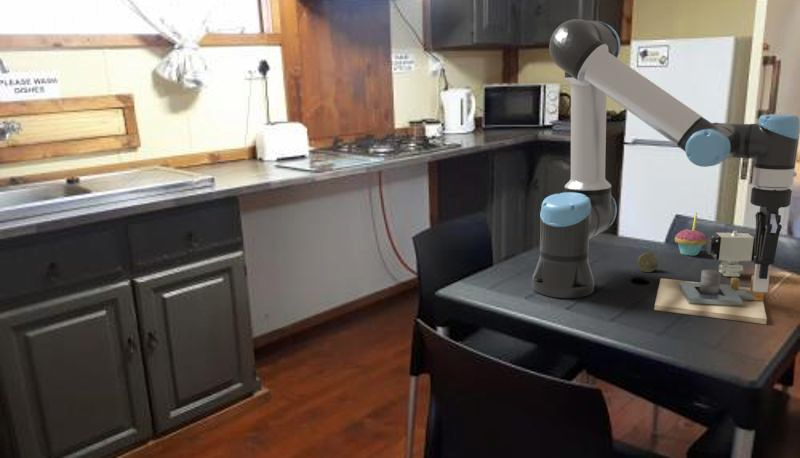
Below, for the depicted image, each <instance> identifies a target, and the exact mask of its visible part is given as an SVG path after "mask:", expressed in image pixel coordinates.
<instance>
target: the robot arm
mask: <svg viewBox="0 0 800 458" xmlns="http://www.w3.org/2000/svg"><path fill="white" fill-rule="evenodd" d="M548 48H549V54H550V57H551V59H552V61H553V63H554V64H555V65H556V66H558V68H559V69H561V70H562V71H564V79H565V81H566V82H567V83H568V84H569V85H570V179H569V181H568V182H567V183H566V184H565V185H564V192H560V193H553V194H550V195H549V196H547V197H545V198H544V199H543V201H542V202H541V208H540V213H539V215H540V216H539V217H540V227H539V228H540V229H539V231H540V235H539V236H540V237H539V238H540V240H539V259H538V262H537V264H536V267H535V269H534V273H533V275H532V278H531V288H532V290H533V291H534V292H536V293H538V294H540V295H543V296H547V297H552V298H560V299H575V298H576V299H577V298H583V297H587V296H589V295H591V294H593V293H594V291H595V280H594V279H595V278H594V276H593V272H592V269H591V265H590V262H589V247H590V239H592V238H593V237H595V236H598V235H601V234H603V233H605V232H606V230H608V229H609V228H610V227H611V225H612V224H613V223H614V222H615V219H616V218H617V213H618V211H617V210H618V207H617V203H616V199H615V198H614V197H613V196H612V184H611V183H610V182H609V181H608V180H607V179H606V156H607V155H606V151H607V150H606V148H607V147H606V146H607V144H606V143H607V139H606V138H607V97H609V98H610V99H611V100H613V101H614V102H615V103H617V104H618V105H620V106H621V107H623V108H624V109H625V110H626V111H628V112H630V113H631V114H632V115H634V116H635V117H637V118H638V119H639V120H641V121H642V122H644V123H645V124H646V125H647V126H649V127H650V128H652V129H654V130H655V131H656V132H657V133H659V135H662V136H663V137H664V138H666V139H667V140H669V141H670V142H671V143H673V144H674V145H675V146H677V147H679V149H681V150H682V151H683V152H684V153H685V154H686V157H687V159H688V160H689V161H690V162H691V163H692V164H693V165H695V166H698V167H701V168H702V167H703V168H705V167H706V168H707V167H714V166H717V165H720V164H721V163H722V162H724V161H726V160H727V159H730V158H732V159H754V163H753V172H752V180H751V184H752V185H753V187H752V188H751V192H750V203H751V205H752V206H756V207H759V211H757V212H756V213H755V214H754V215H755V216H754V217H755V232H754V233H755V235H754V236H755V250H754V256H755V258H754V261H753V264H754V265H755V266H754V274H753V275H754V282H753V291H755V292H764V293H768V291H769V281H770V275H771V273H770V272H771V266H772V265H774V263H775V257H776V253H777V247H778V243H779V238H780V233H781V231H782V229H783V227H782V224H780V223H781V219H782V216H781V214H779V213H780V211H779V209H780V208H787V207H789V206H790V205H791V204H792V203H791V202H792V193H793V190H791V189H792V188H791V187H792V186H793V183H794V178H795V177H797V174H798V173H797V172H795V167H796V160H797V153H798V147H799V146H798V145H799V139H800V135H799V134H800V119H799V117H798V116H797V115H794V114H783V113H782V114H780V113H779V114H762V115H760V116H759V119H758V121H757V123H726V122H725V123H724V122H722V123H720V122H711V121H709V120H708V119H706V118H704V117H703V116H702V115H700V114H699V113H697V112H696V111H694V110H693V109H692V108H690V107H689V106H687V105H686V104H685V103H683V102H682V101H681V100H679V99H677V98H676V97H674V96H673V95H671V94H670V93H668V92H667V91H666V90H664V89H662V88H661V86H659V85H657V84H655V82H653V81H651V80H650V79H648V78H647V77H645V76H644V75H643V74H641V73H639V71H637V70H635V69H633V68H632V67H631V66H629V65H628V64H626V63H625V62H623V61H622V60H620V59H619V58H618V57H619V54H620V52H621V51H620V50H621V40H620V37H619V35H618V33H617V31H616V30H615V29H614V27H612V26H611V25H609V24H607V23H605V22H603V21H600V20H589V19H588V20H587V19H581V18H579V19H577V18H576V19H575V18H574V19H569V20H567V21H564V22H562V23H561V24H560V25H558V27H556V29H555V30H554V31H553V33H552V35H551V37H550V41H549V45H548Z"/></svg>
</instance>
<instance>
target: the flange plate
mask: <svg viewBox="0 0 800 458" xmlns="http://www.w3.org/2000/svg"><path fill="white" fill-rule="evenodd" d="M750 280H751V281H750V287H749V288H750V291H743V290H733V289H732V288H731V287H730V284H726V283H725V284H724V283H720V288H719V294H720V295H700V294H699V293H698V292H700V284H701V282H700V283H686V282H679V288H680V290H681V291H682V293H683V295H684V296H685V298H686V300H687V301H688V303H696V304H716V305H735V306H742V300H758V301H763V302H764V297H765V292H755V291H753V282H754V274H752V275H751V279H750Z"/></svg>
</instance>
